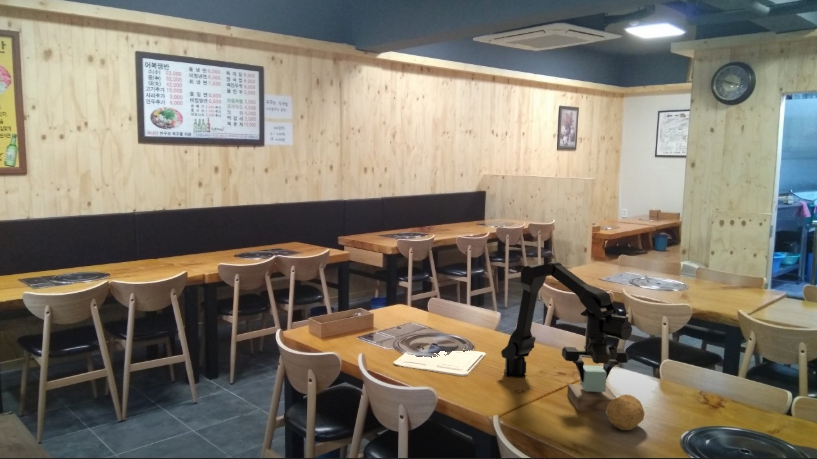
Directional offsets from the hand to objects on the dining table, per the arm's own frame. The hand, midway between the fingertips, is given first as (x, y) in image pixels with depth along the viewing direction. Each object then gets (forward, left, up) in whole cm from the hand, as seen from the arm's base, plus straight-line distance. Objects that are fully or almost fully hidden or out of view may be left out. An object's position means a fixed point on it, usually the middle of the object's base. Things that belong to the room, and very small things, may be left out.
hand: (592, 381), depth 183 cm
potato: (+4, -17, -7) cm, 19 cm away
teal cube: (0, 0, -2) cm, 2 cm away
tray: (-45, +38, -8) cm, 60 cm away
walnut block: (0, 0, -7) cm, 7 cm away
